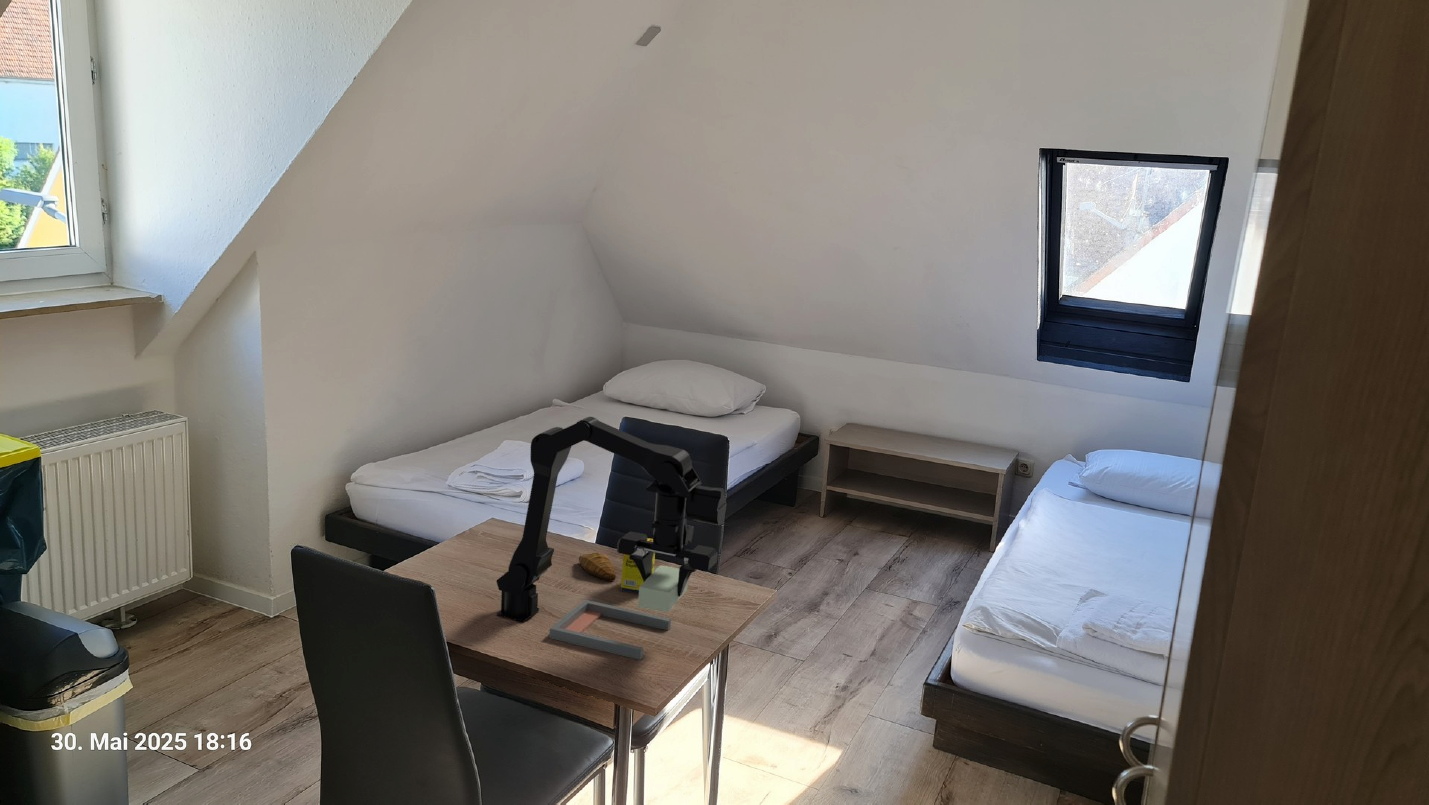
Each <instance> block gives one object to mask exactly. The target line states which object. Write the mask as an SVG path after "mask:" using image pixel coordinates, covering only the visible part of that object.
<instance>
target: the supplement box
mask: <svg viewBox="0 0 1429 805" xmlns="http://www.w3.org/2000/svg"><path fill="white" fill-rule="evenodd" d="M647 541H651V542H653V538H648V537H647ZM655 556H656V553H654V554H653V558H652V573H653V572H654V571H655V562H656V561H655V559H656V557H655ZM629 557H630V555H626V554H622V568H621V582H620V584H621V585H620V591H622V592H627V593H634V594H639V587H640V586H641V585H642V584H643V583H644V581H643V579H642V576H641V574H640V572H639V570H638V568H637V566H636V564H635V562H634V561H633V560H631V559H630V558H629Z"/></svg>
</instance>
